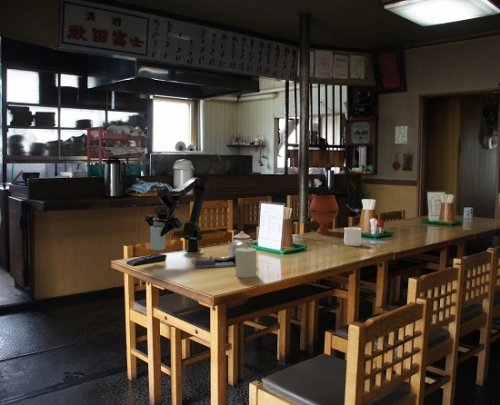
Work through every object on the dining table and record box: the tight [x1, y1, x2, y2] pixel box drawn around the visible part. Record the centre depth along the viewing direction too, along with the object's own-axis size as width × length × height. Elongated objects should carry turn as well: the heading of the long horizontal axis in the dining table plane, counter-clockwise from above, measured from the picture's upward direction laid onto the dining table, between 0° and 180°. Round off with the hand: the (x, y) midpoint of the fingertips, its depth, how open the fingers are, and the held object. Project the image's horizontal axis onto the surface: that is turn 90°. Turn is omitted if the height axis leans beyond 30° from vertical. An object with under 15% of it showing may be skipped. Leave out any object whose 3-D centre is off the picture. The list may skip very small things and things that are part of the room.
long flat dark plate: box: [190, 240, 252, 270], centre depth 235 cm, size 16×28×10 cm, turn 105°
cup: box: [343, 226, 362, 247], centre depth 284 cm, size 10×10×10 cm
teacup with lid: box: [233, 231, 254, 248], centre depth 260 cm, size 12×9×12 cm
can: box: [234, 247, 257, 279], centre depth 212 cm, size 9×9×12 cm
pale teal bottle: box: [149, 222, 166, 251], centre depth 235 cm, size 5×5×13 cm
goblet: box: [309, 194, 339, 234], centre depth 330 cm, size 19×19×25 cm
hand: (156, 235), depth 234 cm, fingers closed on pale teal bottle, 5 cm apart
